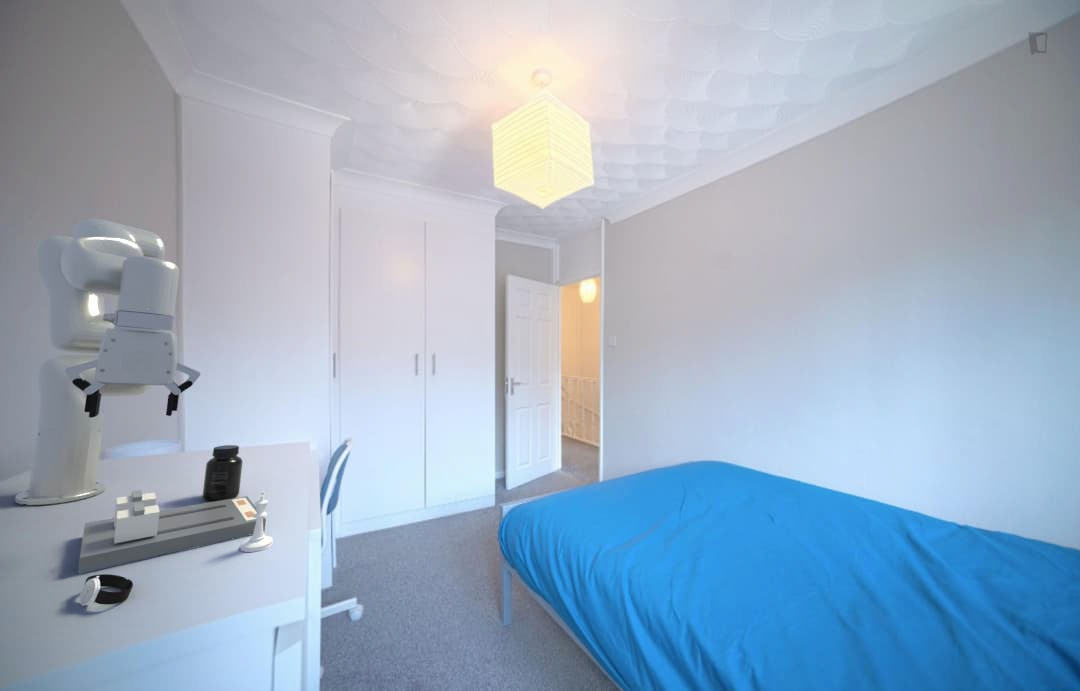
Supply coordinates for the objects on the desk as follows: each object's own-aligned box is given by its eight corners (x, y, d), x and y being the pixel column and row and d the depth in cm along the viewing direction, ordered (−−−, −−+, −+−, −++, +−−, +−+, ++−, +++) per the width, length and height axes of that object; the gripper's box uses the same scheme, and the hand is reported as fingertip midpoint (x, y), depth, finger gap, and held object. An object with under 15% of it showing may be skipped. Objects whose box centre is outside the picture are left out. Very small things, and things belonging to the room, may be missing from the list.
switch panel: (83, 537, 70) (85, 522, 70) (245, 507, 87) (247, 495, 88) (77, 574, 59) (80, 556, 59) (264, 531, 77) (265, 518, 77)
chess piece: (237, 554, 68) (243, 497, 68) (243, 541, 72) (249, 488, 73) (270, 549, 70) (276, 494, 71) (274, 538, 75) (280, 486, 75)
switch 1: (113, 519, 71) (117, 493, 71) (152, 513, 75) (155, 488, 75) (113, 527, 68) (117, 499, 68) (153, 520, 72) (156, 494, 72)
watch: (69, 598, 54) (73, 572, 54) (116, 582, 58) (119, 557, 58) (93, 617, 51) (97, 589, 51) (141, 598, 55) (145, 572, 55)
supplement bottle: (246, 494, 95) (251, 445, 95) (220, 504, 88) (226, 451, 89) (220, 491, 96) (226, 442, 96) (193, 500, 89) (200, 448, 89)
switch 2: (114, 534, 66) (117, 506, 66) (155, 527, 69) (158, 500, 70) (113, 543, 63) (117, 514, 63) (156, 535, 67) (160, 507, 67)
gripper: (67, 316, 63) (52, 420, 62) (205, 328, 74) (195, 417, 74) (78, 318, 69) (65, 413, 68) (206, 329, 80) (196, 411, 79)
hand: (133, 415), depth 71 cm, fingers open, 9 cm apart
